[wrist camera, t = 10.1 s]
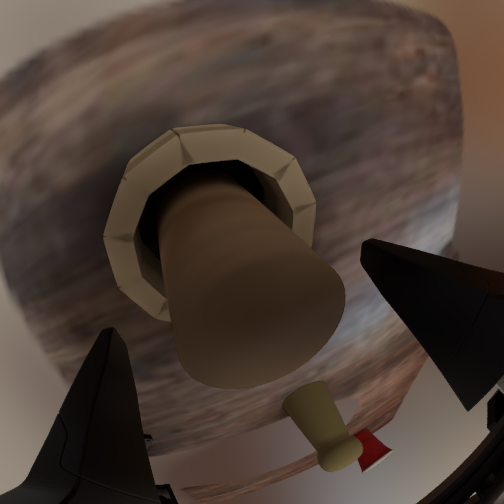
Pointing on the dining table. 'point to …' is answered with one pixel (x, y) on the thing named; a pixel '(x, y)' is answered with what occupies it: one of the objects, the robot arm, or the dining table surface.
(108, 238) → the wooden ring
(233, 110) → the dining table surface
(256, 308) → the walnut peg
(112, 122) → the dining table surface
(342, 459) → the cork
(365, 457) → the plastic cup
